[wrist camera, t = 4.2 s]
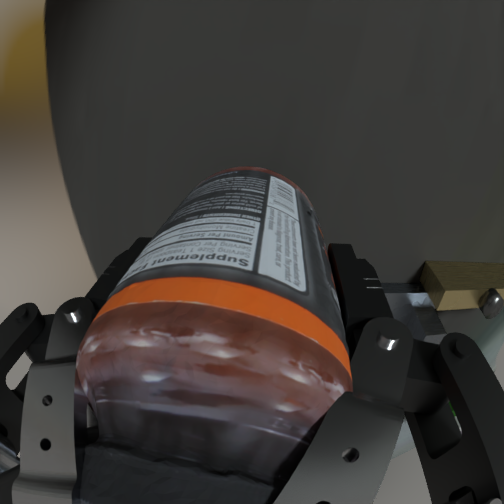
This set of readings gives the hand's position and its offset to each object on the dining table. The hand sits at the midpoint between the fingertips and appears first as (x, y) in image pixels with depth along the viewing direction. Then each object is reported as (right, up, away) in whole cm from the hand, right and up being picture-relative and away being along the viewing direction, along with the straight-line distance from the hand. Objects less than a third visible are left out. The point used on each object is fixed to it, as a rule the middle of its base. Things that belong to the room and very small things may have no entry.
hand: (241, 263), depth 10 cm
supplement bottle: (0, +2, +2) cm, 3 cm away
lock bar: (+15, -1, +5) cm, 16 cm away
